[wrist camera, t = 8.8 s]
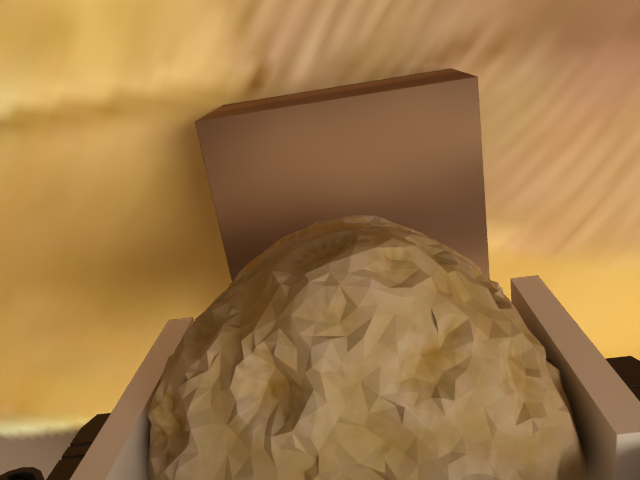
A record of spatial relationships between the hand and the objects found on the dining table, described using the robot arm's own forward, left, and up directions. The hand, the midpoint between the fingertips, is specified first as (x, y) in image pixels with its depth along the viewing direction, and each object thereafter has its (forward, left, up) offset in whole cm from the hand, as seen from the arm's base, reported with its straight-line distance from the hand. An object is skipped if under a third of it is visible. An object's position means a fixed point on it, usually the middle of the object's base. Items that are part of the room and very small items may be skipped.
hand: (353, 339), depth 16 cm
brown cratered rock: (0, 0, 0) cm, 0 cm away
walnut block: (0, 0, -15) cm, 15 cm away
